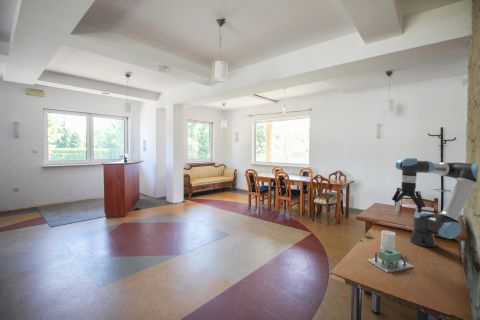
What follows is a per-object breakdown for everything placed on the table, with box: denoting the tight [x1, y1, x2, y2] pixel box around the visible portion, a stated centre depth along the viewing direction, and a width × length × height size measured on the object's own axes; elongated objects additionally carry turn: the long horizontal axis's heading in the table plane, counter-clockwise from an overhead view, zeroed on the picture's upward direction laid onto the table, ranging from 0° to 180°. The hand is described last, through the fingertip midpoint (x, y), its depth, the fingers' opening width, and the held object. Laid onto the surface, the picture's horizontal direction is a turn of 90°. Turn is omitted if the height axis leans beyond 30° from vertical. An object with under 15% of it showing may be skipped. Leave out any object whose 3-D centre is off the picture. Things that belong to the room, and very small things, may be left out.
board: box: [378, 249, 402, 262], centre depth 141 cm, size 10×6×5 cm, turn 108°
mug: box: [379, 229, 396, 251], centre depth 159 cm, size 12×8×12 cm
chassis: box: [366, 251, 415, 274], centre depth 141 cm, size 20×14×6 cm
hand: (406, 214), depth 152 cm, fingers open, 13 cm apart
